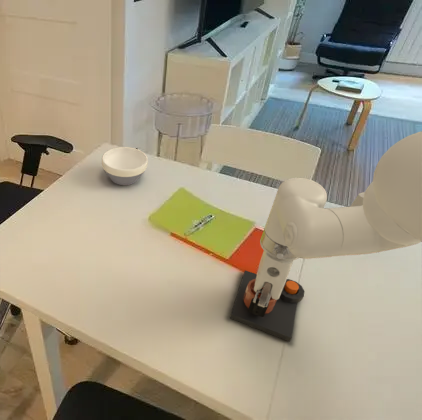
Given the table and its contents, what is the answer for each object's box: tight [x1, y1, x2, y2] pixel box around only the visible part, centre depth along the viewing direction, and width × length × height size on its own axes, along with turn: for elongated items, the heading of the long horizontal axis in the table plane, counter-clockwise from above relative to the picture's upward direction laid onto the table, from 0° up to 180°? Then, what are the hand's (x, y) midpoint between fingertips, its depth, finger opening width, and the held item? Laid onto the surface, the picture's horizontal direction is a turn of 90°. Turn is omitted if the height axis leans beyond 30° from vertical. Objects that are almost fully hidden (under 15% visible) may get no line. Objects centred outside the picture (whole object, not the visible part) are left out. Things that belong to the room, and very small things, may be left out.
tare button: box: [284, 280, 299, 294], centre depth 81 cm, size 3×3×2 cm
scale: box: [229, 270, 305, 342], centre depth 81 cm, size 13×14×3 cm
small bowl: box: [243, 279, 277, 314], centre depth 79 cm, size 6×6×4 cm
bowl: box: [101, 146, 149, 186], centre depth 119 cm, size 14×14×8 cm
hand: (258, 300), depth 80 cm, fingers closed on small bowl, 6 cm apart
